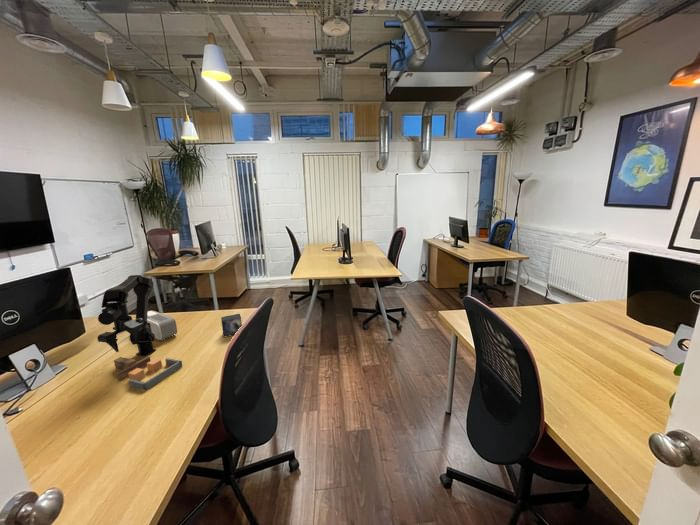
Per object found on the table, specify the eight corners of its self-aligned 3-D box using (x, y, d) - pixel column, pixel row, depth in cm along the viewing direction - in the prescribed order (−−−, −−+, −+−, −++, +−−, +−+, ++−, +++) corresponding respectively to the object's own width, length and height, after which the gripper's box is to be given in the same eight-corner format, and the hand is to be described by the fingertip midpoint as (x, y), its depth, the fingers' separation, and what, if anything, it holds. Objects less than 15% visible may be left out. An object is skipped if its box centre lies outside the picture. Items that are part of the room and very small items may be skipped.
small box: (223, 337, 162) (221, 320, 160) (222, 333, 168) (220, 316, 165) (243, 333, 167) (241, 316, 164) (241, 329, 172) (239, 313, 170)
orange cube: (148, 370, 132) (146, 363, 131) (156, 366, 136) (154, 358, 135) (154, 372, 131) (152, 364, 130) (162, 367, 135) (161, 359, 134)
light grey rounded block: (139, 332, 173) (135, 313, 170) (155, 326, 180) (152, 308, 178) (161, 343, 158) (157, 323, 156) (178, 336, 166) (175, 317, 163)
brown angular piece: (103, 376, 129) (100, 366, 127) (134, 360, 142) (132, 351, 140) (120, 380, 125) (118, 370, 124) (150, 363, 138) (148, 354, 137)
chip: (129, 381, 125) (128, 373, 124) (138, 375, 129) (137, 367, 128) (136, 382, 124) (134, 374, 123) (145, 377, 127) (143, 369, 126)
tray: (130, 386, 121) (128, 380, 120) (168, 363, 137) (167, 358, 137) (145, 390, 118) (144, 384, 117) (182, 366, 135) (181, 360, 134)
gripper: (112, 326, 118) (120, 359, 121) (153, 309, 135) (159, 338, 139) (92, 323, 120) (101, 356, 124) (135, 307, 138) (141, 336, 142)
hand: (127, 346), depth 132 cm, fingers open, 9 cm apart
